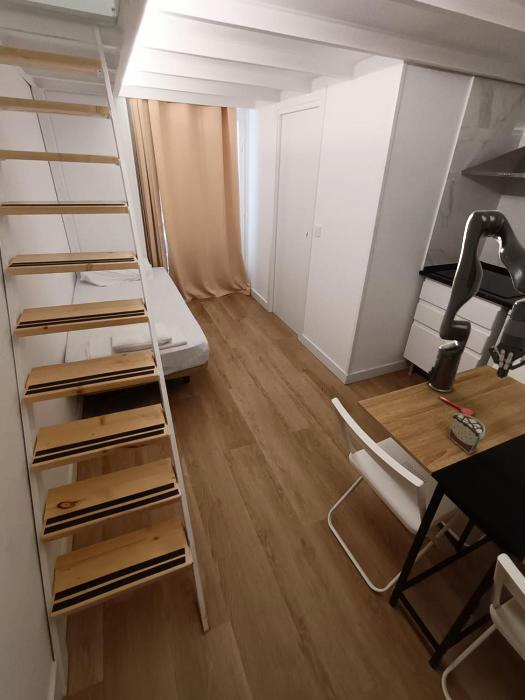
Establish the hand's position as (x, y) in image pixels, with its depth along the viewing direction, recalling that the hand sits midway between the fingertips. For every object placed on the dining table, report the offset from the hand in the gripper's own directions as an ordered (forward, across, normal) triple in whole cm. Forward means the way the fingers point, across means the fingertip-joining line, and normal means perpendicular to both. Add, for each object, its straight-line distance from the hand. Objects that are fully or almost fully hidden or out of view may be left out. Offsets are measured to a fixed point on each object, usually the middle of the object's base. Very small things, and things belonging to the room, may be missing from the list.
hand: (500, 376), depth 117 cm
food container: (+23, -2, +14) cm, 27 cm away
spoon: (+23, +13, -4) cm, 27 cm away
